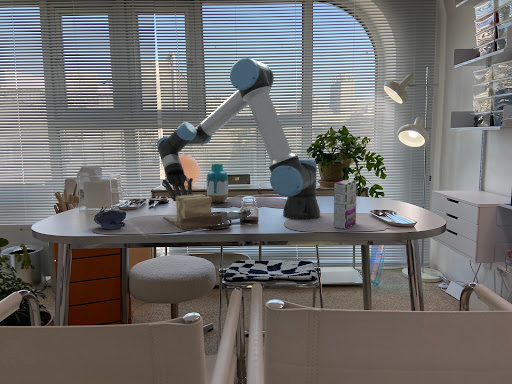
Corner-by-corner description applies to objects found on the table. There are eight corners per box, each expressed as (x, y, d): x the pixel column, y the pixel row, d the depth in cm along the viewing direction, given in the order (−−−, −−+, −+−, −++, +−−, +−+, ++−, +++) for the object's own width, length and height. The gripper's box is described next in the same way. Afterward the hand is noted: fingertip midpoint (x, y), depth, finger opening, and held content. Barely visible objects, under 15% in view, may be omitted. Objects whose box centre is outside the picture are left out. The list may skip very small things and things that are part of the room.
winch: (223, 226, 148) (223, 212, 147) (216, 223, 153) (216, 210, 152) (257, 221, 155) (257, 209, 154) (250, 219, 160) (250, 206, 159)
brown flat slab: (163, 219, 160) (163, 208, 159) (198, 215, 167) (198, 205, 166) (182, 231, 140) (181, 219, 139) (221, 226, 147) (221, 214, 146)
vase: (232, 201, 201) (231, 163, 198) (221, 204, 192) (221, 165, 189) (214, 200, 206) (213, 162, 203) (203, 203, 196) (202, 164, 193)
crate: (176, 221, 152) (175, 195, 151) (201, 218, 157) (201, 193, 156) (185, 227, 143) (184, 199, 142) (212, 223, 148) (211, 197, 147)
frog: (100, 224, 152) (99, 204, 151) (131, 224, 152) (130, 204, 151) (88, 230, 143) (87, 209, 141) (121, 230, 142) (120, 209, 141)
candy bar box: (343, 222, 153) (344, 179, 151) (356, 223, 151) (357, 180, 148) (332, 227, 144) (333, 182, 142) (345, 229, 141) (347, 183, 139)
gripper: (186, 172, 173) (201, 217, 161) (156, 174, 167) (169, 221, 155) (189, 161, 168) (205, 206, 156) (159, 162, 162) (173, 209, 150)
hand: (187, 213), depth 155 cm, fingers closed
